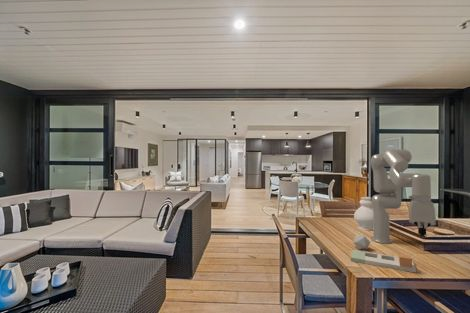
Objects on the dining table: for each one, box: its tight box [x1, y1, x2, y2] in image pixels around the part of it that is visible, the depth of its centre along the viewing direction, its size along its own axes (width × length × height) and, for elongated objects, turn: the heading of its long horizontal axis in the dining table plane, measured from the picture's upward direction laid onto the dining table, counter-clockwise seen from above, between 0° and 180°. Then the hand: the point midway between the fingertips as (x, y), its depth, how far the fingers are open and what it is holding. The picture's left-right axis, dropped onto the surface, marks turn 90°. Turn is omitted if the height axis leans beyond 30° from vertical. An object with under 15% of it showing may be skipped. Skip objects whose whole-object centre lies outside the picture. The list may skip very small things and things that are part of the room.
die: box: [352, 234, 371, 250], centre depth 151 cm, size 8×9×10 cm
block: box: [398, 253, 413, 268], centre depth 122 cm, size 5×5×4 cm
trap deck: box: [350, 249, 417, 273], centre depth 131 cm, size 13×29×2 cm, turn 62°
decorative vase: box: [353, 196, 373, 231], centre depth 195 cm, size 18×18×25 cm
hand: (422, 235), depth 120 cm, fingers closed
